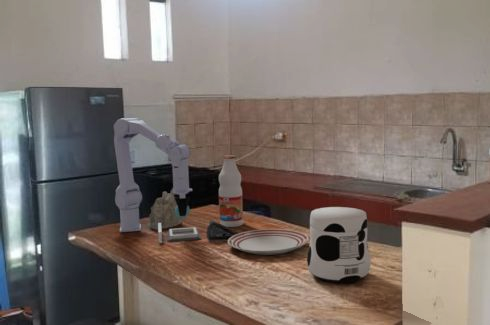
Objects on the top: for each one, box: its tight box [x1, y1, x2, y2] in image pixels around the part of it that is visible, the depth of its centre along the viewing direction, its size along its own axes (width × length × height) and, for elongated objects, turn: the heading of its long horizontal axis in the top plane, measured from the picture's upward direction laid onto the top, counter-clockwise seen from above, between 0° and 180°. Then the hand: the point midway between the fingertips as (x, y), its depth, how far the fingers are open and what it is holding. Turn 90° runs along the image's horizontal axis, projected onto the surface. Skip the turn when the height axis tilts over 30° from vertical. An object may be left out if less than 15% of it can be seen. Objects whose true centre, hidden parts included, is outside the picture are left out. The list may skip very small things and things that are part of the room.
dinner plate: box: [227, 228, 310, 256], centre depth 166 cm, size 27×27×3 cm
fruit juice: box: [218, 154, 244, 228], centre depth 196 cm, size 9×9×28 cm
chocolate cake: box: [205, 219, 240, 243], centre depth 179 cm, size 10×7×12 cm
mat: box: [166, 226, 202, 243], centre depth 183 cm, size 12×12×2 cm
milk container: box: [306, 206, 371, 283], centre depth 136 cm, size 17×17×18 cm
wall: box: [157, 223, 163, 244], centre depth 181 cm, size 14×1×4 cm, turn 10°
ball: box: [175, 204, 191, 219], centre depth 181 cm, size 6×6×6 cm
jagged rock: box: [146, 187, 183, 230], centre depth 202 cm, size 16×16×15 cm
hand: (182, 214), depth 182 cm, fingers closed on ball, 5 cm apart
